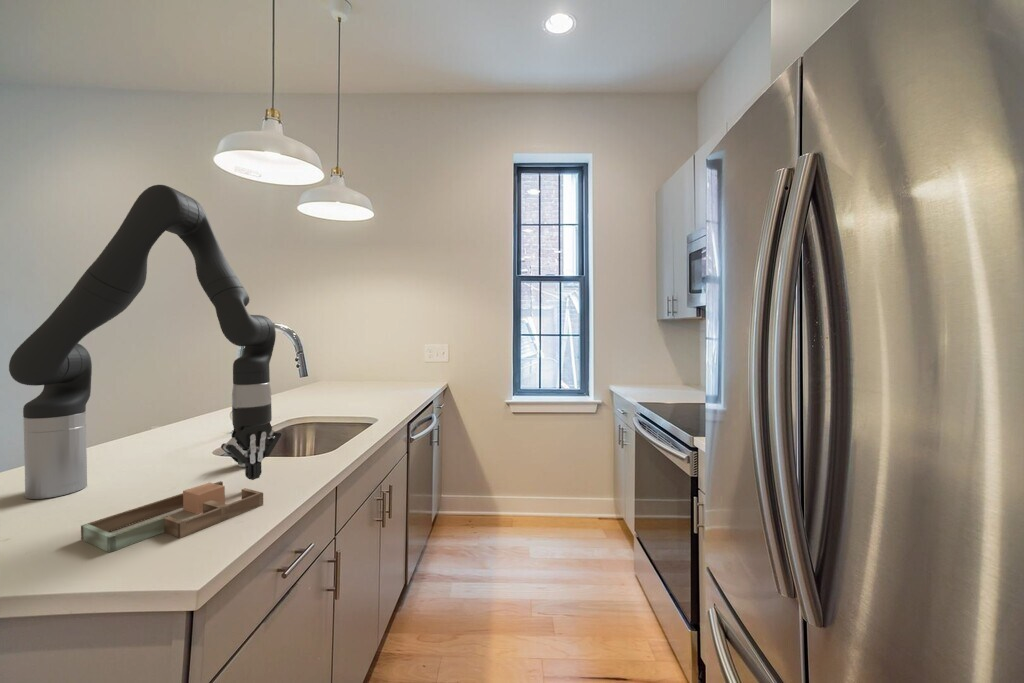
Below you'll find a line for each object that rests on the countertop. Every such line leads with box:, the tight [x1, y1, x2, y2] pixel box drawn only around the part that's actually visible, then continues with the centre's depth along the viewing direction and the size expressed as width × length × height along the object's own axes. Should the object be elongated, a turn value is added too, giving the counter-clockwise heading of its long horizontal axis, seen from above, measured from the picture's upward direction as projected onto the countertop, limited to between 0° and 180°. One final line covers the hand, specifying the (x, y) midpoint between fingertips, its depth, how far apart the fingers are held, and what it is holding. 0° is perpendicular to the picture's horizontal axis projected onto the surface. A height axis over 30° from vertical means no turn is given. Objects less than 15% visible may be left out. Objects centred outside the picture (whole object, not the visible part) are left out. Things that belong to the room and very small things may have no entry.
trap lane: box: [80, 480, 264, 553], centre depth 78 cm, size 15×23×2 cm, turn 156°
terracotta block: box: [182, 482, 226, 515], centre depth 84 cm, size 5×5×4 cm
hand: (253, 478), depth 93 cm, fingers closed
